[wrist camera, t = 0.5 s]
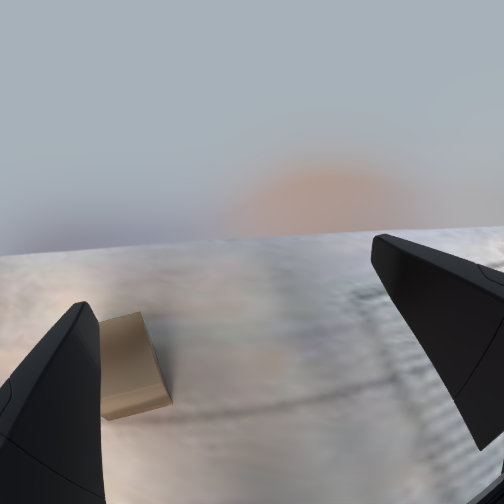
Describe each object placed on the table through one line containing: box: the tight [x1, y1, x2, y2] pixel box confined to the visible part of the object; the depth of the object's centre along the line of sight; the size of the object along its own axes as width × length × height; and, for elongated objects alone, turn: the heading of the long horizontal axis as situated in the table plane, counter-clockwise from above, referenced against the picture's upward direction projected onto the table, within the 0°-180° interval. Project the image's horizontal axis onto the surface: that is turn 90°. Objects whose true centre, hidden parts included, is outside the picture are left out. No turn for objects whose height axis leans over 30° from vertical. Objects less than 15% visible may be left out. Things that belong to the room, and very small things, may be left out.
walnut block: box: [99, 312, 172, 421], centre depth 18 cm, size 5×5×5 cm
